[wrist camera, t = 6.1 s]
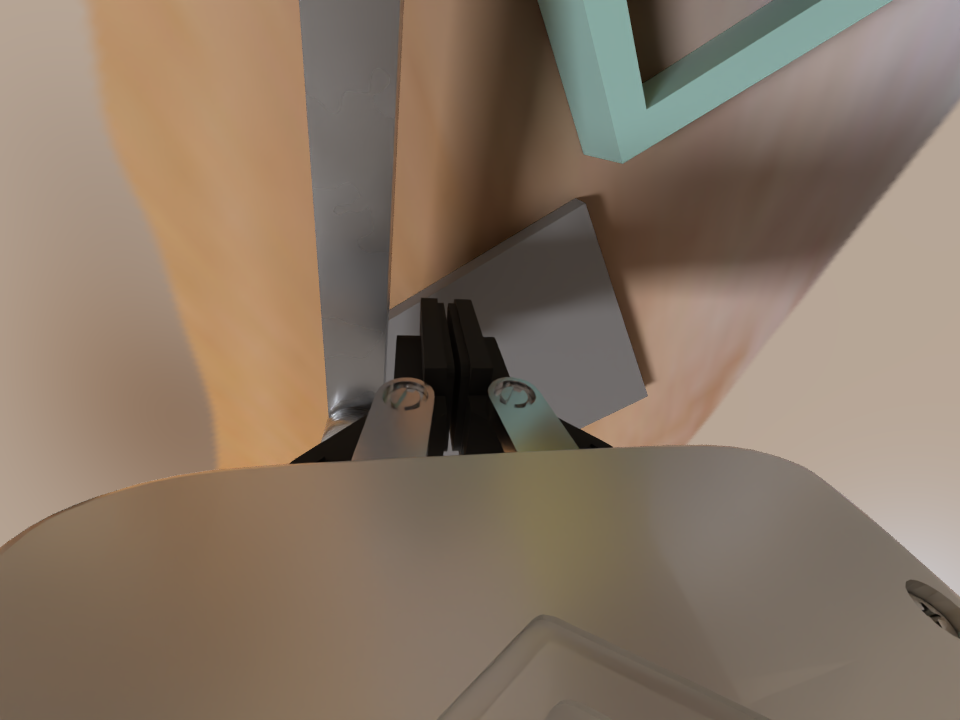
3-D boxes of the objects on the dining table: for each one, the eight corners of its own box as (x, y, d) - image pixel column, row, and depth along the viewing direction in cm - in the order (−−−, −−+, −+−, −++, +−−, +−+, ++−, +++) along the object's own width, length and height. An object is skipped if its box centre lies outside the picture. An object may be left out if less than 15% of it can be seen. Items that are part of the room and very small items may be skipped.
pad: (575, 198, 14) (585, 203, 13) (638, 385, 21) (647, 396, 20) (338, 340, 16) (334, 352, 15) (467, 468, 23) (469, 482, 22)
